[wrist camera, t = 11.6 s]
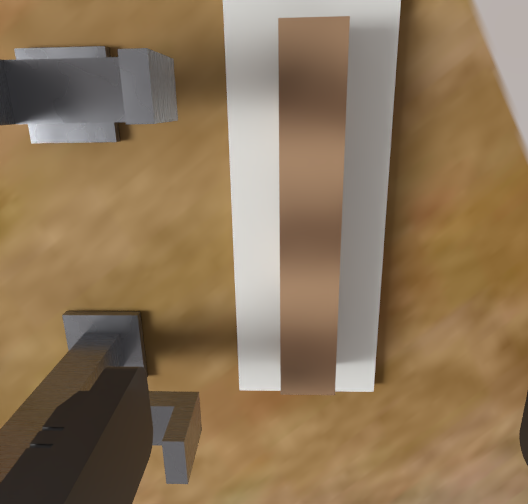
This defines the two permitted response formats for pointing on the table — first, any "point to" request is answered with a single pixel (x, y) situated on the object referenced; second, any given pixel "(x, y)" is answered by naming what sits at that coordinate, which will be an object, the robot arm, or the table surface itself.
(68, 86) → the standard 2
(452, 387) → the table surface
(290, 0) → the mat
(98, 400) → the robot arm
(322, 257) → the rail
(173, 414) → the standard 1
